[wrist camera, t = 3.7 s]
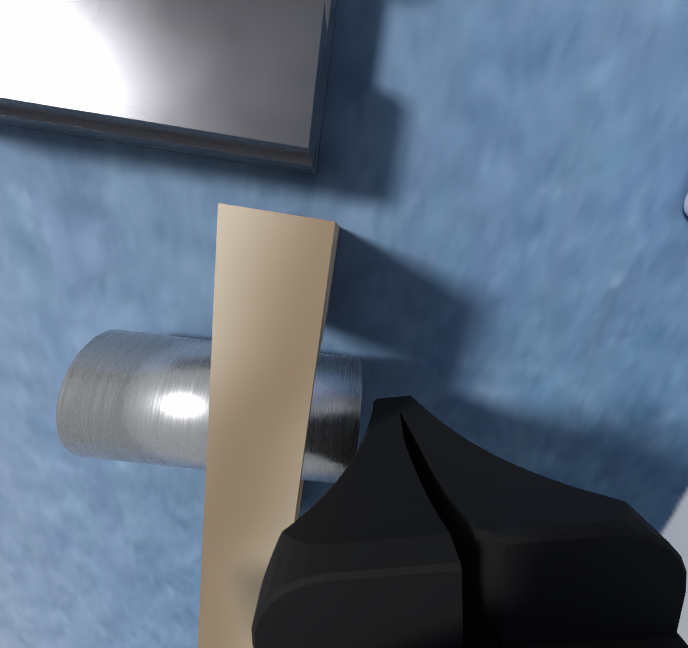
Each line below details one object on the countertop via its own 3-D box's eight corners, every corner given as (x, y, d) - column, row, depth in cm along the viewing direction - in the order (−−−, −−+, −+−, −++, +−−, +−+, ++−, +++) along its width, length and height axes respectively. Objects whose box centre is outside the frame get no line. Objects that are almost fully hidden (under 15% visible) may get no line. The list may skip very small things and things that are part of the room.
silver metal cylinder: (358, 342, 12) (365, 390, 9) (345, 435, 13) (346, 516, 10) (142, 316, 12) (48, 354, 8) (146, 413, 13) (64, 487, 9)
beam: (339, 226, 11) (335, 221, 6) (299, 510, 14) (271, 686, 9) (281, 217, 11) (218, 203, 6) (253, 504, 14) (196, 678, 9)
